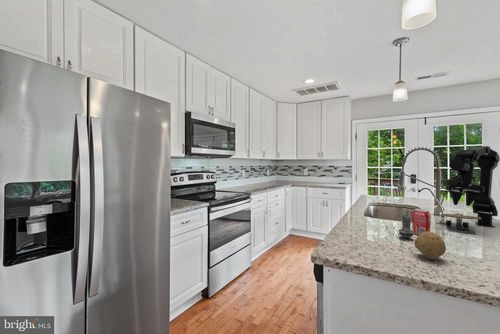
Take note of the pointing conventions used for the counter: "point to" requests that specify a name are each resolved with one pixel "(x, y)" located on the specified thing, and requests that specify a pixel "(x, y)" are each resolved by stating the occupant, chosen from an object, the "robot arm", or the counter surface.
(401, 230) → the dark grey tall piece
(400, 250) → the counter surface
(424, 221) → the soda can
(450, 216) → the instrument deck
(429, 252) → the potato
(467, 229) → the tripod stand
